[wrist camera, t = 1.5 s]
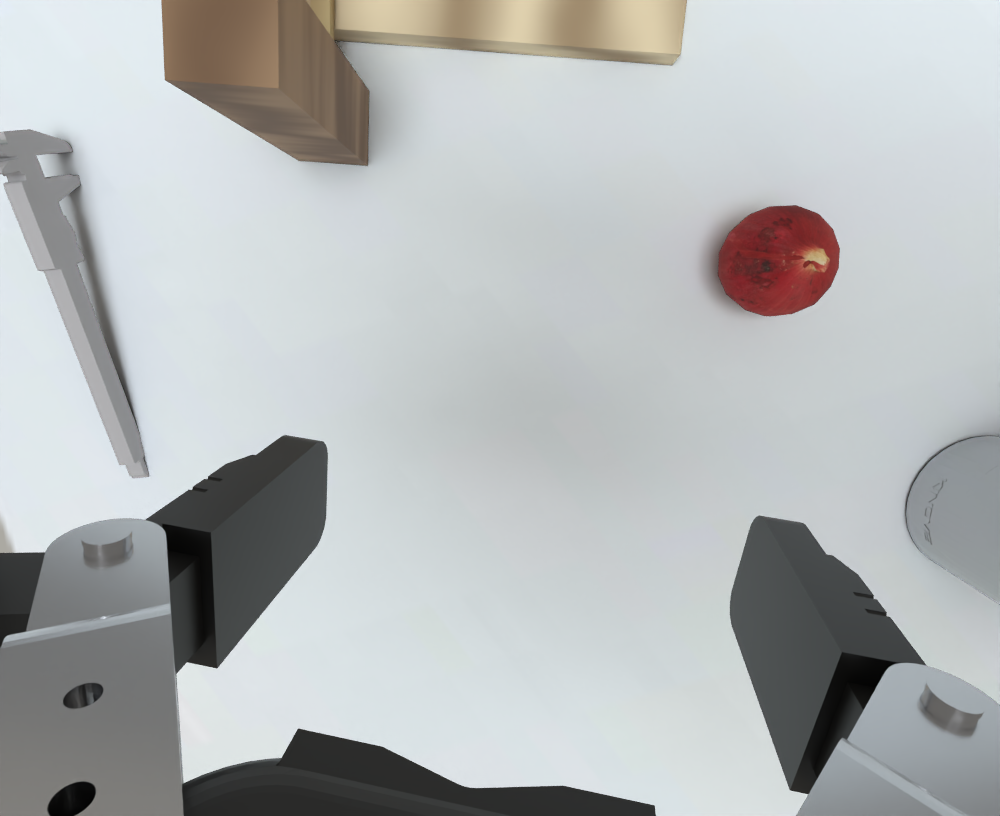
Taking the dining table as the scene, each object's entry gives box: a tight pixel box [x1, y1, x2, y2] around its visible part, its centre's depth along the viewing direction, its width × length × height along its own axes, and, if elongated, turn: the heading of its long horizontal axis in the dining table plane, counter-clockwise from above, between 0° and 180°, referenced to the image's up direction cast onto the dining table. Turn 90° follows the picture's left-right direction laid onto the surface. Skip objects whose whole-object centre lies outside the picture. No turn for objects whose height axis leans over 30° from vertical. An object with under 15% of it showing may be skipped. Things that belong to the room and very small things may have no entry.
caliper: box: [0, 130, 149, 478], centre depth 34 cm, size 20×1×6 cm, turn 6°
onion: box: [718, 205, 840, 316], centre depth 32 cm, size 6×6×8 cm
